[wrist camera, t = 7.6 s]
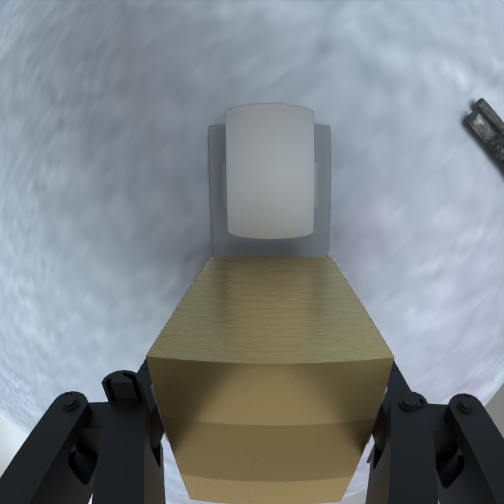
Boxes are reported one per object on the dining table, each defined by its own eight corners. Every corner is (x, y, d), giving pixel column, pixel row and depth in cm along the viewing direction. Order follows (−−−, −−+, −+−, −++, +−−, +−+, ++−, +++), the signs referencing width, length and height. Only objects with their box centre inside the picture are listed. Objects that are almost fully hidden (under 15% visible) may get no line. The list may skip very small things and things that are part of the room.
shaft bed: (212, 128, 17) (182, 108, 11) (326, 127, 17) (355, 107, 11) (225, 395, 23) (213, 456, 16) (311, 396, 22) (320, 457, 16)
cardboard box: (318, 378, 15) (340, 501, 8) (219, 377, 16) (190, 499, 8) (330, 256, 14) (394, 357, 6) (210, 256, 14) (145, 355, 6)
